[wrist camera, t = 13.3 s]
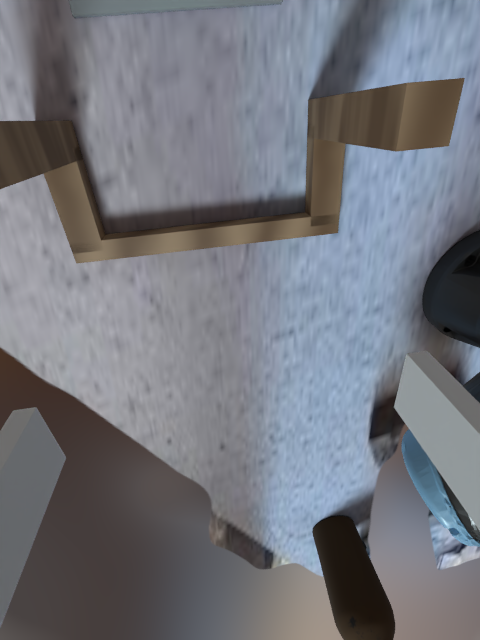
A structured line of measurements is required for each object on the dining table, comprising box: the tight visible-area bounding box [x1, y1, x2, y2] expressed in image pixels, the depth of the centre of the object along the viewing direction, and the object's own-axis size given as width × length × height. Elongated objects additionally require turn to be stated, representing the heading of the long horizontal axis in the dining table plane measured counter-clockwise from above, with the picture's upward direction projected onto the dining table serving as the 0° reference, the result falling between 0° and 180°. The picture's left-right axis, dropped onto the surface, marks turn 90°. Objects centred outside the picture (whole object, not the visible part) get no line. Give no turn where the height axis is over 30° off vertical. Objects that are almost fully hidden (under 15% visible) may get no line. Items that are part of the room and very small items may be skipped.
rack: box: [0, 78, 465, 263], centre depth 25 cm, size 27×12×16 cm, turn 94°
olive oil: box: [313, 516, 395, 640], centre depth 62 cm, size 11×11×25 cm
